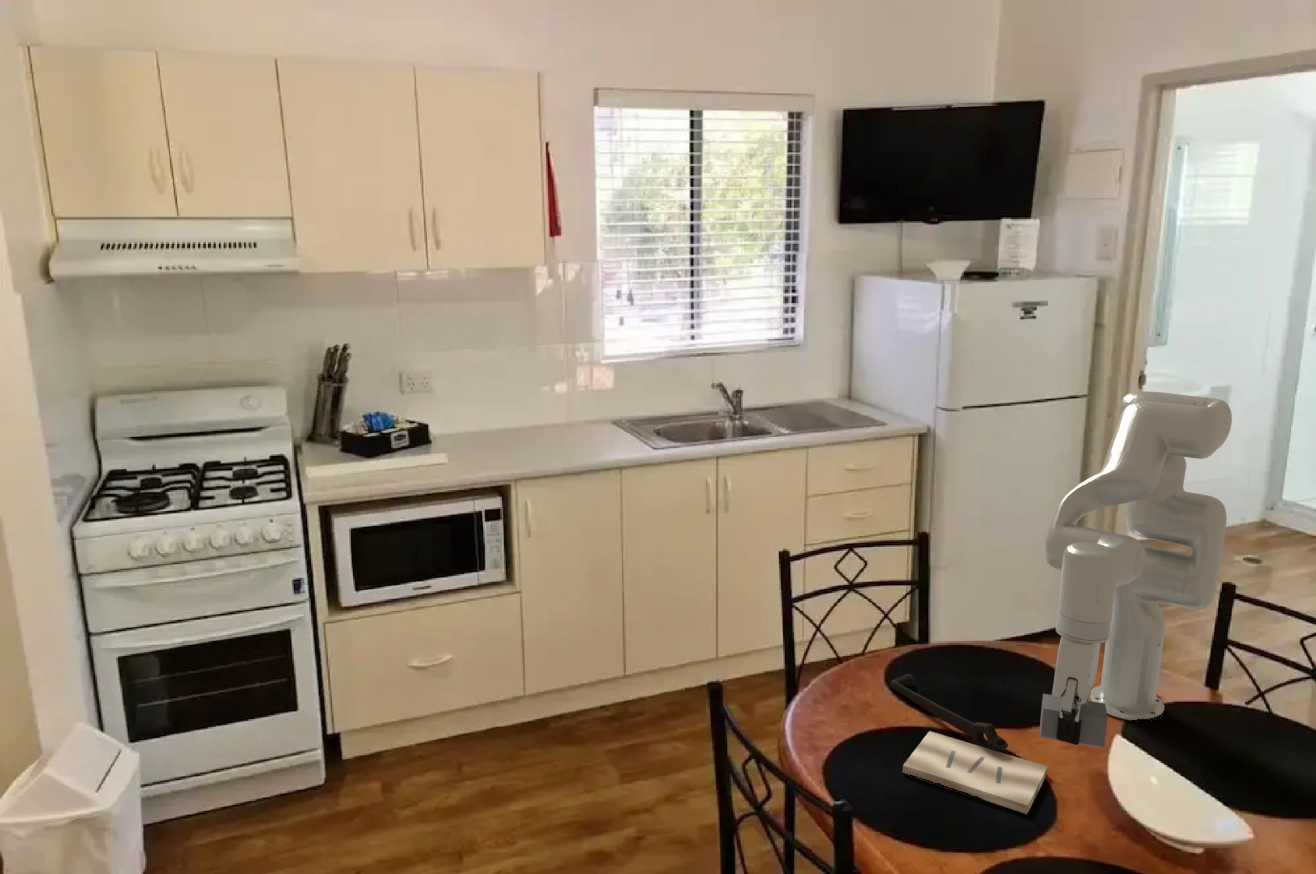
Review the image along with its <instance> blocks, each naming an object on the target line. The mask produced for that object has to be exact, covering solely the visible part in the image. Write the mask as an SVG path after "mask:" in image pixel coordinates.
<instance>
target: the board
mask: <svg viewBox="0 0 1316 874" xmlns="http://www.w3.org/2000/svg"><path fill="white" fill-rule="evenodd" d="M1048 768H1049V767H1048V766H1047V765H1044V764H1040V763H1037V762H1034V761H1030V760H1027V759H1024V758H1021V757H1016V756H1014V755H1010V754H1007V753H1003V752H1000V751H998V750H997V751H996V750H991V749H987V748H984V747H981V746H978V745H976V744H975V743H974V744H973V743H970V742H966V741H965V740H961V739H957V738H954V737H950V736H947V735H944V734H941V733H937V732H934V731H931V730H929V731H928V732H927V734H926V735H925V736H924V737H923V738H922V740H921V742H920V743H919V744H918V745H917V746H916V748H915V749H914V750H913V752H911V754H910V756H909V757H908V758H907V759H906V761H905V762H904V763H903V765H902V774H903V773H905V774H904V775H906V774H908V775H907V776H909V775H913V776H916V777H918V778H917V779H919V778H922V779H926V780H929V781H932V782H934V783H940V784H941V785H944V786H947V787H949V788H953V789H956V790H958V791H962V792H965V793H968V794H970V795H972V796H971V797H973V796H977V797H979V798H981V799H980V800H982V799H983V801H985V800H986V801H985V802H988V801H989V803H992V804H993V805H994V804H995V805H998V806H1001V807H1004V808H1007V809H1010V810H1014V811H1017V812H1018V813H1022V814H1025V815H1028V813H1029V811H1030V809H1031V807H1032V806H1033V804H1034V801H1035V799H1036V798H1037V796H1038V793H1039V791H1040V789H1041V788H1042V786H1043V784H1044V781H1045V779H1046V778H1047V776H1048ZM922 779H921V780H922ZM934 783H933V784H934ZM949 788H948V789H949ZM958 791H957V792H958ZM970 795H969V796H970ZM979 798H978V799H979Z"/></svg>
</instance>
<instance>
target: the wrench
mask: <svg viewBox="0 0 1316 874" xmlns="http://www.w3.org/2000/svg"><path fill="white" fill-rule="evenodd" d="M915 679H916V678H915V677H914V675H912V674H910V673H905V674H904V675H902V676H900V677H897V678H894V679H892V680H891V681H890V683H889V684H890V686H891V688H892V689H893V690H894V691H896V692H898V693H900V695H903V696H905V698H908V699H909V700H911V701H912V702H914V703H916V704H917V705H918V706H921V707H922V709H923V708H924V709H925V710H926V711H928V712H929V713H931V714H933V715H934V716H936V717H938V718H939V719H940V720H942V721H944V722H946V723H947V724H949V725H950V726H952V727H954V728H955V729H957V730H959V731H960V732H962V733H964V734H965V735H967V736H969V737H970V738H972V741H973V742H972V743H974V745H977V746H981V747H984V748H987V749H991V750H994V751H996V750H997V751H1003V750H1005V749H1007V748H1008V746H1009V744H1008V742H1007V741H1006V739H1004V738H1003V737H1001V736H999V735H998V733H997V731H996V729H995V727H994V724H993V723H987V722H983V721H978V722H972V721H970V720H969V719H967V718H965V717H963V716H962V715H959V714H957V713H955V712H954V711H951V710H950V709H948V708H946V707H943V706H941V705H939V704H938V703H937V702H934V701H932V700H930V699H929V698H927V697H925V696H923V695H921V694H919V693H917V692H915V691H913V690H912V689H910V688H907V687H912V686H913V685H914V684H915ZM985 737H986V738H985Z"/></svg>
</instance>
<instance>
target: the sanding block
mask: <svg viewBox="0 0 1316 874" xmlns="http://www.w3.org/2000/svg"><path fill="white" fill-rule="evenodd" d="M1041 700H1042V701H1041V711H1040V712H1041V713H1040V722H1039V727H1040V731H1039V732H1040V733H1039V734H1040V736H1039V737H1040V739H1045V740H1050V741H1057V742H1062V743H1065V742H1064V741H1060V740H1058V739H1057V738H1056V736H1057V726H1058V717H1059V715H1060V708H1061V702H1062V695H1061V696H1060V698H1054V697H1053V696H1052V694H1048V693H1042V699H1041ZM1075 700H1079V699H1075ZM1073 709H1075V711H1076V709H1077V705H1076V704H1073ZM1080 720H1082V722H1081V731H1080V740H1079V744H1078V745H1080V746H1085V747H1091V748H1095V749H1102V750H1104V749H1105V743H1106V738H1107V737H1106V735H1107V728H1108V721H1109V720H1108V714H1107V712H1106V705H1105V703H1099V702H1092V701H1091V700H1088V701H1087V702H1086V703H1085V704H1083V705H1082V707H1081V714H1080ZM1078 745H1077V746H1078Z"/></svg>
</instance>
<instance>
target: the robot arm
mask: <svg viewBox="0 0 1316 874" xmlns="http://www.w3.org/2000/svg"><path fill="white" fill-rule="evenodd" d="M1232 416H1233V414H1232V411H1231V408H1230V406H1229V403H1228V402H1226V401H1225V400H1222V399H1220V398H1214V397H1213V398H1212V397H1204V396H1196V395H1195V396H1194V395H1186V394H1178V393H1171V392H1162V391H1161V392H1159V391H1147V390H1146V391H1145V390H1143V391H1139V390H1138V391H1134V392H1130V393H1127V394H1125V395H1124V397H1123V398H1122V400H1121V401H1120V405H1119V418H1118V421H1117V425H1116V427H1115V431H1114V433H1113V436H1112V438H1111V440H1110V441H1111V442H1110V444H1109V447H1108V451H1107V453H1106V457H1105V459H1104V462H1103V464H1102V468H1101V470H1100V471H1099V472H1098V473H1096V474H1094V475H1092V476H1090V477H1088V478H1087V479H1085V480H1084V481H1082V482H1080V483H1079V484H1077V485H1076V486H1075V487H1074V488H1072V489H1071V490H1070V491H1069V492H1067V494H1065V496H1064V497H1063V498H1062V499H1061V500H1060V502H1059V503H1058V505H1057V507H1056V509H1055V511H1054V514H1053V518H1052V519H1051V523H1050V525H1049V528H1048V532H1047V534H1046V537H1045V542H1044V546H1043V549H1044V550H1043V553H1044V558H1045V560H1046V563H1048V565H1049V566H1050V567H1051V568H1053V569H1055V570H1058V571H1060V572H1061V573H1060V585H1059V586H1060V587H1059V592H1058V593H1059V594H1058V595H1059V596H1058V605H1057V614H1056V624H1055V632H1056V633H1057V634H1058V635H1060V641H1059V646H1058V651H1057V657H1056V663H1055V670H1054V677H1053V678H1054V679H1053V685H1052V691H1051V695H1052V696H1053V697H1054V698H1060V696H1061V697H1062V702H1061V708H1060V715H1059V717H1058V726H1057V736H1056V738H1057V739H1058V740H1060V741H1059V742H1061V741H1064V742H1063V743H1068V744H1071V745H1075V746H1078V744H1079V740H1080V731H1081V722H1082V720H1080V714H1081V707H1082V705H1083V704H1085V703H1086V702H1087V701H1089V699H1090V701H1092V702H1099V703H1105V705H1106V712H1107V715H1110V716H1113V717H1115V718H1118V719H1121V720H1127V721H1132V720H1137V719H1150V718H1154V717H1157V716H1159V715H1161V714H1162V713H1163V711H1164V712H1165V705H1164V703H1163V701H1162V700H1161V699H1160V698H1159V697H1158V696H1157V694H1158V693H1157V692H1158V687H1159V686H1158V685H1159V679H1160V678H1159V677H1160V671H1161V665H1162V655H1163V647H1164V640H1165V635H1166V634H1165V632H1166V621H1165V616H1164V613H1163V611H1162V610H1161V608H1160V606H1159V605H1158V603H1164V604H1168V605H1172V606H1177V607H1182V608H1186V609H1190V610H1196V611H1197V610H1204V609H1207V608H1209V607H1210V606H1211V605H1212V604H1213V602H1214V600H1215V596H1216V594H1217V588H1218V582H1219V577H1220V571H1221V563H1222V557H1223V552H1224V551H1223V550H1224V543H1225V539H1226V538H1225V537H1226V532H1227V531H1226V530H1227V510H1226V507H1225V504H1224V503H1223V502H1222V500H1220V499H1218V498H1217V497H1214V496H1211V495H1207V494H1202V493H1195V492H1191V491H1185V489H1184V484H1185V483H1184V482H1185V477H1186V470H1187V461H1186V458H1191V459H1197V460H1198V459H1199V460H1202V459H1207V458H1209V457H1211V456H1212V455H1213V454H1214V453H1215V452H1216V451H1217V450H1218V449H1219V448H1220V447H1221V446H1222V445H1223V444H1224V443H1225V441H1226V440H1227V438H1228V436H1229V434H1230V431H1231V429H1232V428H1231V427H1232V422H1233V421H1232V420H1233V417H1232ZM1122 504H1123V505H1124V504H1126V512H1125V524H1126V528H1127V530H1128V531H1129V532H1130V533H1132V534H1133V535H1134V536H1135V535H1136V536H1137V537H1141V538H1145V539H1147V540H1148V539H1149V540H1153V541H1159V542H1164V543H1169V544H1174V545H1179V546H1185V547H1186V548H1187V547H1188V548H1189V550H1190V552H1191V554H1190V553H1186V552H1181V551H1175V550H1171V549H1170V550H1169V549H1167V548H1163V547H1157V546H1152V545H1146V544H1142V542H1141V541H1140V540H1138V539H1137V538H1136V537H1132V536H1130V535H1126V534H1121V533H1117V532H1110V531H1106V530H1102V529H1097V528H1092V527H1086V526H1080V525H1076V524H1077V522H1078V521H1079V520H1081V518H1082V517H1084V516H1086V515H1087V514H1089V513H1091V512H1093V511H1097V510H1099V509H1103V508H1107V507H1112V506H1118V505H1122ZM1103 643H1105V645H1104V653H1103V654H1104V655H1103V662H1102V670H1101V671H1102V672H1101V681H1100V685H1097V686H1095V682H1096V677H1097V673H1098V666H1099V660H1100V652H1101V644H1103ZM1094 686H1095V687H1094ZM1075 699H1079V700H1075ZM1073 704H1076V705H1077V709H1076V711H1075V709H1073Z"/></svg>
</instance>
